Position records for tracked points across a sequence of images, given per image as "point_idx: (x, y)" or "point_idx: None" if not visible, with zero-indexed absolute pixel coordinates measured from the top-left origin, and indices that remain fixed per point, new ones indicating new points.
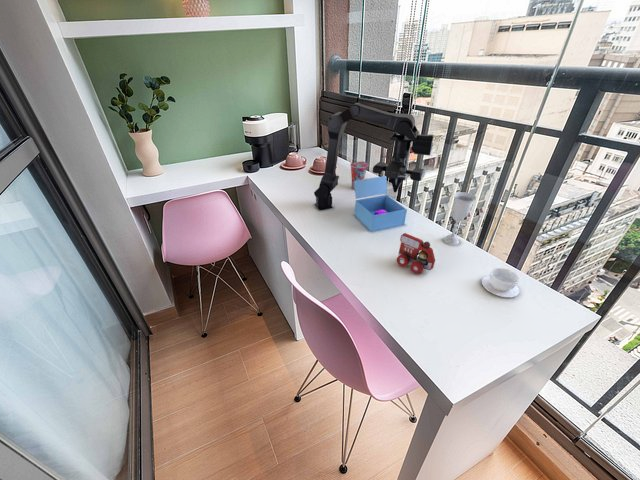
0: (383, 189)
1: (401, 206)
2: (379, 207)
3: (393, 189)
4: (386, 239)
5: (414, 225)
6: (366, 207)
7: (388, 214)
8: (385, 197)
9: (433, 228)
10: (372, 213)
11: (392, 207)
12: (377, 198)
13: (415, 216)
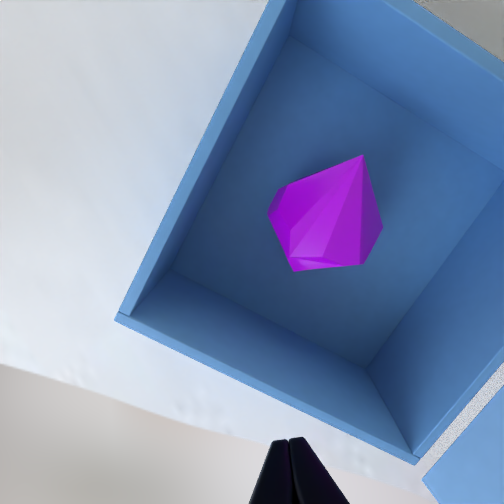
0: (486, 496)
1: (188, 345)
2: (398, 345)
3: (318, 468)
4: (138, 2)
5: (112, 304)
6: (481, 258)
7: (206, 134)
8: (408, 431)
9: (13, 341)
10: (406, 263)
11: (299, 361)
12: (462, 372)
13: (169, 403)
